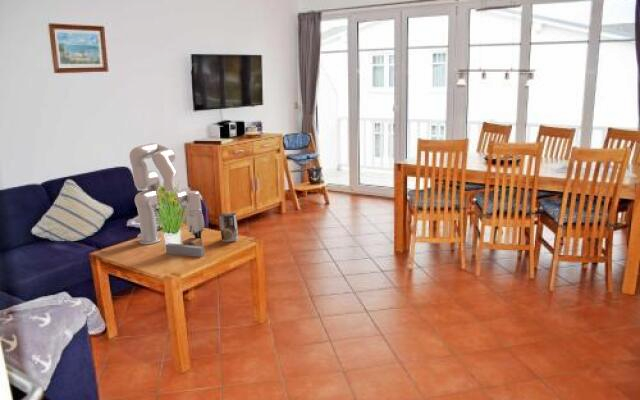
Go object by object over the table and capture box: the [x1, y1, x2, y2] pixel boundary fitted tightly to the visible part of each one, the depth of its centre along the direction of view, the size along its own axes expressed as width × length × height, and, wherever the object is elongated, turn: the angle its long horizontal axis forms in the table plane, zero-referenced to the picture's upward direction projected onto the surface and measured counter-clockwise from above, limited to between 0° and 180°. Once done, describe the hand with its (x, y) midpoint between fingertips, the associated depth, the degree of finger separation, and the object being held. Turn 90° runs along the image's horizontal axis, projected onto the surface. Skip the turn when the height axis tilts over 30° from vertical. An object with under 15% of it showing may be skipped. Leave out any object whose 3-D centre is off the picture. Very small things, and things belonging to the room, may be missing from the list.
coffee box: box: [218, 212, 240, 243], centre depth 325 cm, size 9×6×16 cm
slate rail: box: [165, 242, 205, 258], centre depth 306 cm, size 24×3×5 cm, turn 67°
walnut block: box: [182, 237, 203, 247], centre depth 312 cm, size 8×7×6 cm
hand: (198, 242), depth 317 cm, fingers closed
